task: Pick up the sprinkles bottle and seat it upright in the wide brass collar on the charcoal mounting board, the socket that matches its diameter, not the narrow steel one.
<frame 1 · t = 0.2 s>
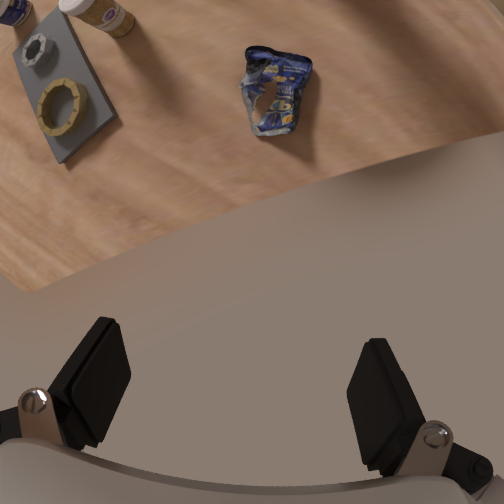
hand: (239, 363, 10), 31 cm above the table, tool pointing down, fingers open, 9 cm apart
steel collar: (42, 51, 29), resting on mounting board
mounting board: (58, 78, 32), on the table
snack package: (270, 87, 34), on the table
brass collar: (66, 107, 33), resting on mounting board
pill bottle: (23, 14, 26), on the table
sprinkles bottle: (122, 25, 30), on the table
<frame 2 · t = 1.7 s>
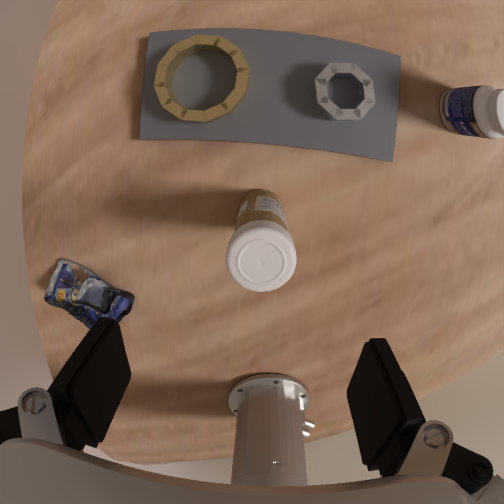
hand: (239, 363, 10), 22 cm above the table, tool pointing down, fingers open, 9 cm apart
steel collar: (339, 94, 25), resting on mounting board
mounting board: (272, 86, 26), on the table
snack package: (97, 290, 36), on the table
brass collar: (205, 80, 25), resting on mounting board
pill bottle: (455, 111, 25), on the table
sprinkles bottle: (261, 209, 31), on the table
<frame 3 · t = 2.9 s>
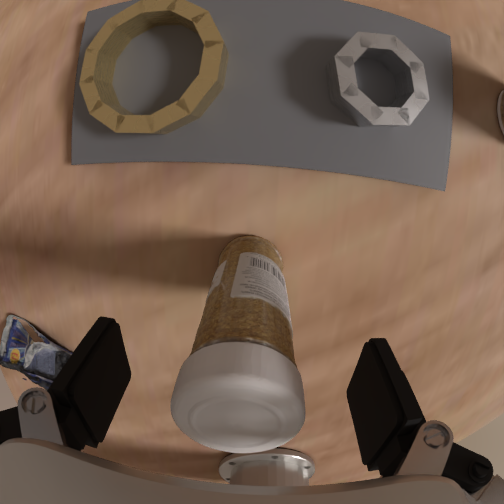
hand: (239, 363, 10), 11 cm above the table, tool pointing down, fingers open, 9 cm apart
steel collar: (370, 84, 15), resting on mounting board
mounting board: (264, 74, 16), on the table
snack package: (53, 350, 26), on the table
brass collar: (159, 69, 15), resting on mounting board
sprinkles bottle: (251, 263, 21), on the table
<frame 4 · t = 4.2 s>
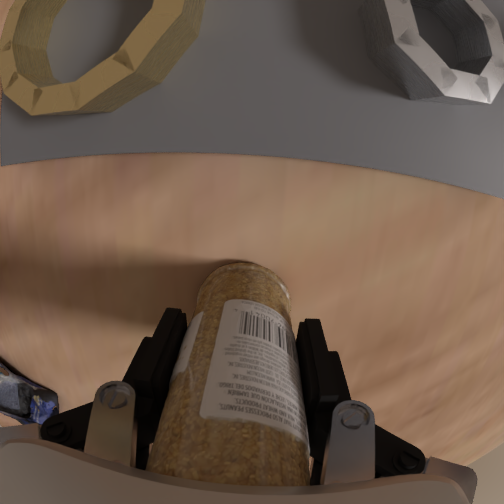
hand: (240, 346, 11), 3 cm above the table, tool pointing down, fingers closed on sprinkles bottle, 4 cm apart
steel collar: (423, 41, 8), resting on mounting board
mounting board: (264, 20, 9), on the table
snack package: (20, 379, 20), on the table
brass collar: (105, 20, 8), resting on mounting board
sprinkles bottle: (245, 299, 15), on the table, touching gripper
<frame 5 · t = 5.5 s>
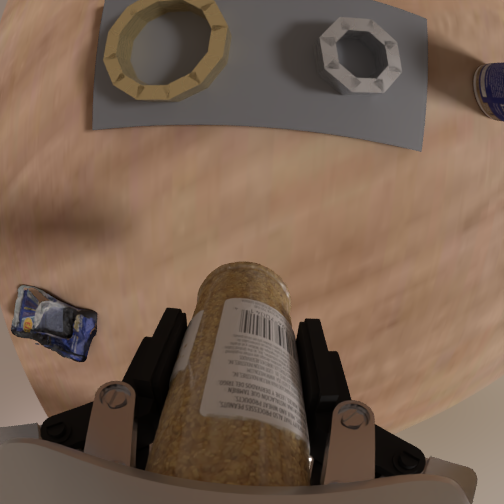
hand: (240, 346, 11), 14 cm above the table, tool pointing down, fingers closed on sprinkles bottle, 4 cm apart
steel collar: (352, 60, 17), resting on mounting board
mounting board: (261, 52, 18), on the table
snack package: (62, 312, 30), on the table
brass collar: (171, 48, 17), resting on mounting board
pill bottle: (489, 92, 18), on the table
sprinkles bottle: (245, 298, 15), point 11 cm above the table, touching gripper
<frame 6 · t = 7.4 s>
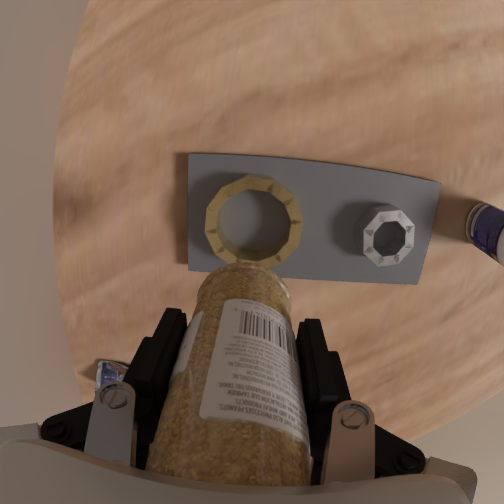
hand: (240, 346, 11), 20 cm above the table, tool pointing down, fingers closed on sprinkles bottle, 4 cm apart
steel collar: (380, 230, 28), resting on mounting board
mounting board: (318, 220, 30), on the table
snack package: (139, 377, 40), on the table
brass collar: (254, 218, 28), resting on mounting board
pill bottle: (478, 222, 29), on the table
sprinkles bottle: (245, 299, 14), point 16 cm above the table, touching gripper
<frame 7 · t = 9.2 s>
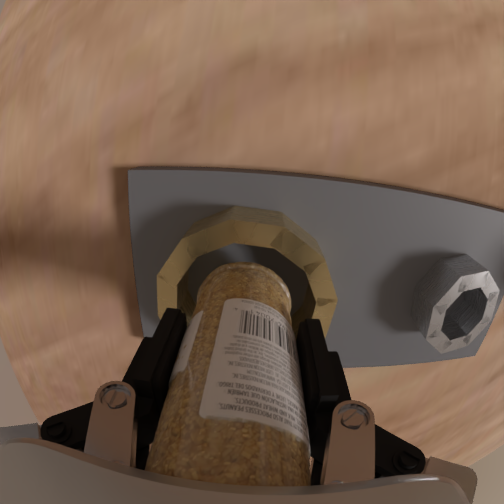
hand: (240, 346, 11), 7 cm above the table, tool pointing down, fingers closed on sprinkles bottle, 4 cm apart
steel collar: (446, 294, 16), resting on mounting board
mounting board: (354, 279, 17), on the table
brass collar: (247, 284, 16), resting on mounting board
sprinkles bottle: (245, 299, 14), point 3 cm above the table, touching gripper
when the fingers open (5 cm above the table, at t = 9.8 s): sprinkles bottle stays where it is, resting on mounting board.
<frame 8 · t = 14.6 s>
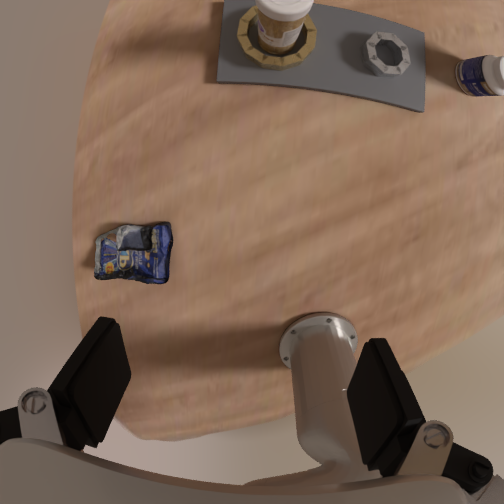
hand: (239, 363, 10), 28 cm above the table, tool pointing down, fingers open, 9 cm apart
steel collar: (381, 57, 27), resting on mounting board
mounting board: (328, 48, 29), on the table
snack package: (139, 244, 40), on the table
brass collar: (276, 38, 27), resting on mounting board
pill bottle: (467, 78, 28), on the table
sprinkles bottle: (277, 39, 28), point 1 cm above the table, touching mounting board
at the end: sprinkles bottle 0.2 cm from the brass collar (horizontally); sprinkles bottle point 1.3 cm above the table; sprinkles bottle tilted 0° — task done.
